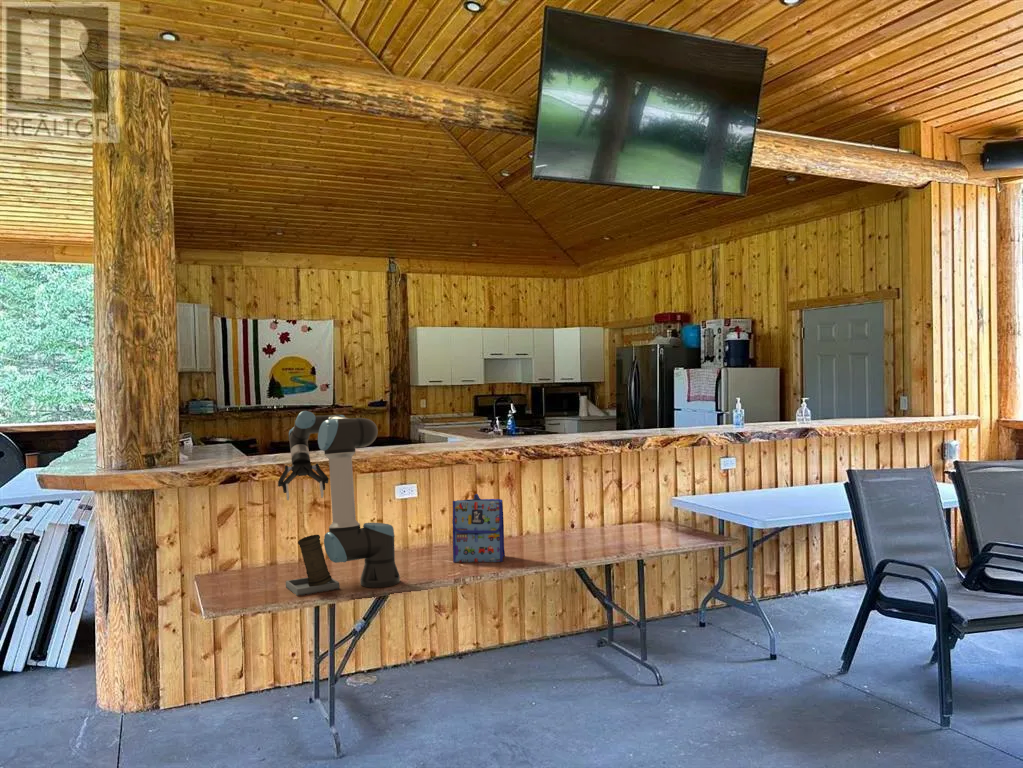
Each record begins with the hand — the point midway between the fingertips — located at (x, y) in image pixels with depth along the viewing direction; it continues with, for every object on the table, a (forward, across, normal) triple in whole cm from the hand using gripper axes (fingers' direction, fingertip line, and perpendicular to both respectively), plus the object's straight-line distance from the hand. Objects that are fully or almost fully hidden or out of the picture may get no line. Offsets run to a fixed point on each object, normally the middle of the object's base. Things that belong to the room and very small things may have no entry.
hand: (305, 497), depth 305 cm
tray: (+37, 0, -10) cm, 38 cm away
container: (+35, -3, -9) cm, 36 cm away
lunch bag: (+26, -73, -21) cm, 80 cm away
